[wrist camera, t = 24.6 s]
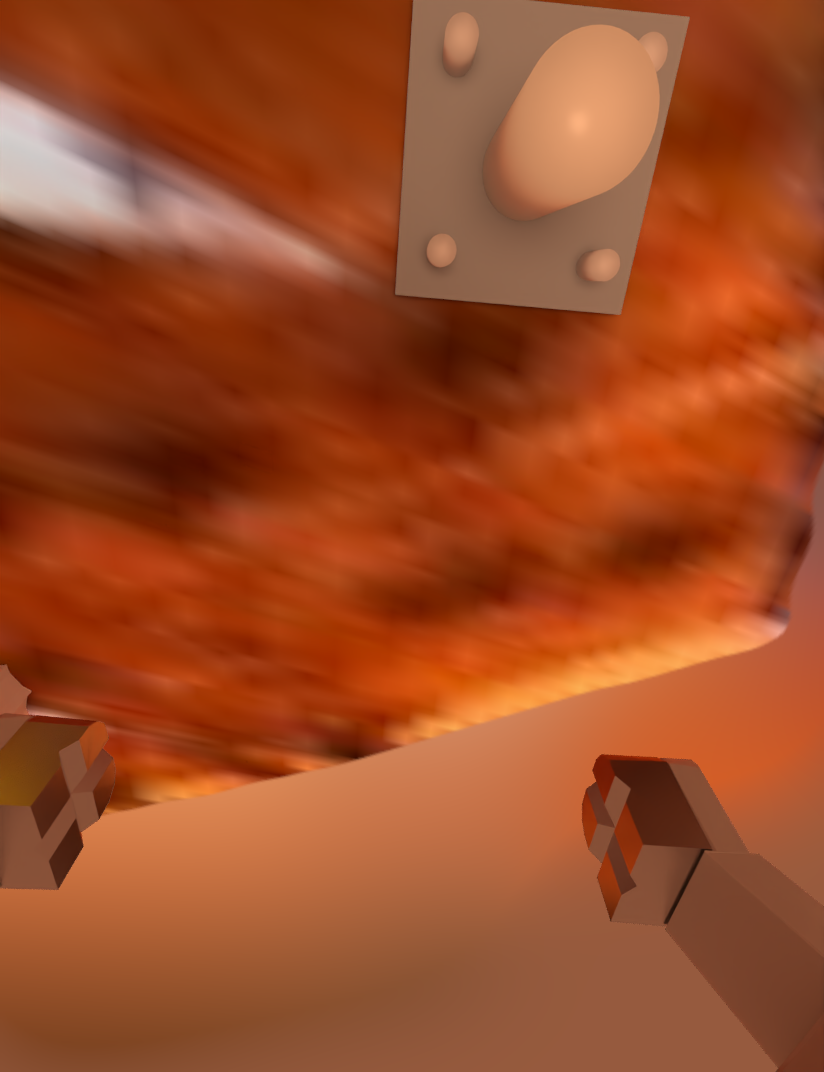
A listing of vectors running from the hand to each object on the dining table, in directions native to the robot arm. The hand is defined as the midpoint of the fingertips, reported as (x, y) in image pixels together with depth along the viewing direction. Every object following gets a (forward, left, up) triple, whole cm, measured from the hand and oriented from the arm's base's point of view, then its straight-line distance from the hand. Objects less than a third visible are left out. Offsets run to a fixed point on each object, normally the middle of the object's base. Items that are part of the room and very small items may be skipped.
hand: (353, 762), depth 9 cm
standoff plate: (+6, +13, -31) cm, 34 cm away
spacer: (+6, +13, -30) cm, 33 cm away
